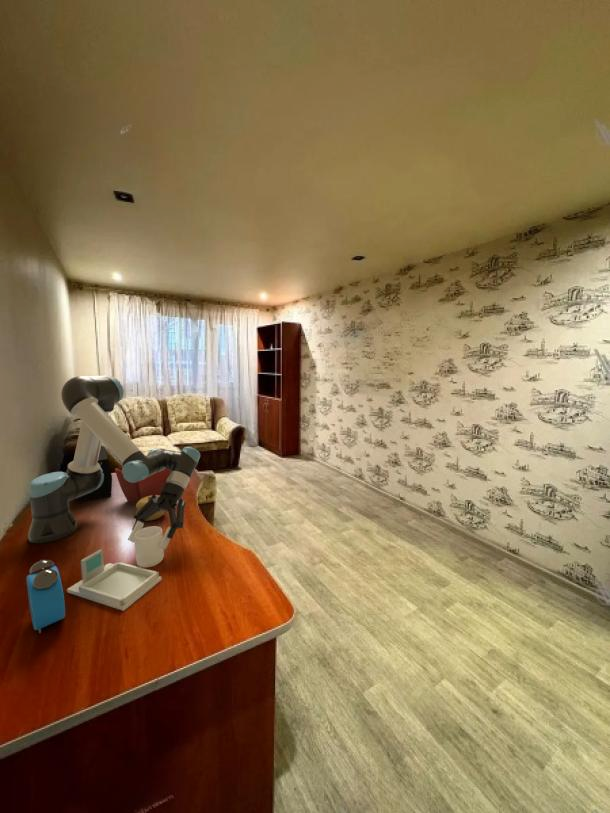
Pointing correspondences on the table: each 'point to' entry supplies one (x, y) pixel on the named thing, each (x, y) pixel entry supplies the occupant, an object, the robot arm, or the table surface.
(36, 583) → the alarm clock
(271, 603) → the table surface
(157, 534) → the cup
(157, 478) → the plant pot
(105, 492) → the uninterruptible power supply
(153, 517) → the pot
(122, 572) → the dock
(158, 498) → the robot arm
